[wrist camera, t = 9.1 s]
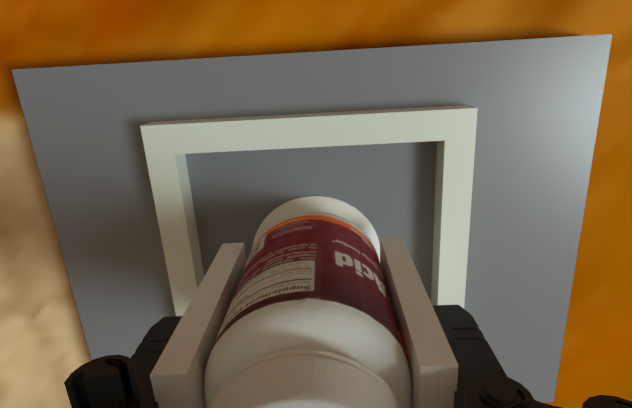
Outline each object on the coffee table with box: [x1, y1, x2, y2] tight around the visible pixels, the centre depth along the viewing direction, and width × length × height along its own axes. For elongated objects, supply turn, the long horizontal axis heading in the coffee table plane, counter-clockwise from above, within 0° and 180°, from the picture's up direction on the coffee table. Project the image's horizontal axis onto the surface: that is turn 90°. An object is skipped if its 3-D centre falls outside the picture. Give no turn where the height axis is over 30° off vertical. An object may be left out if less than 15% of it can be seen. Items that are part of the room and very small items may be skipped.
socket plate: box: [12, 34, 612, 402], centre depth 17 cm, size 20×15×2 cm
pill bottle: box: [204, 211, 412, 408], centre depth 11 cm, size 5×5×8 cm
